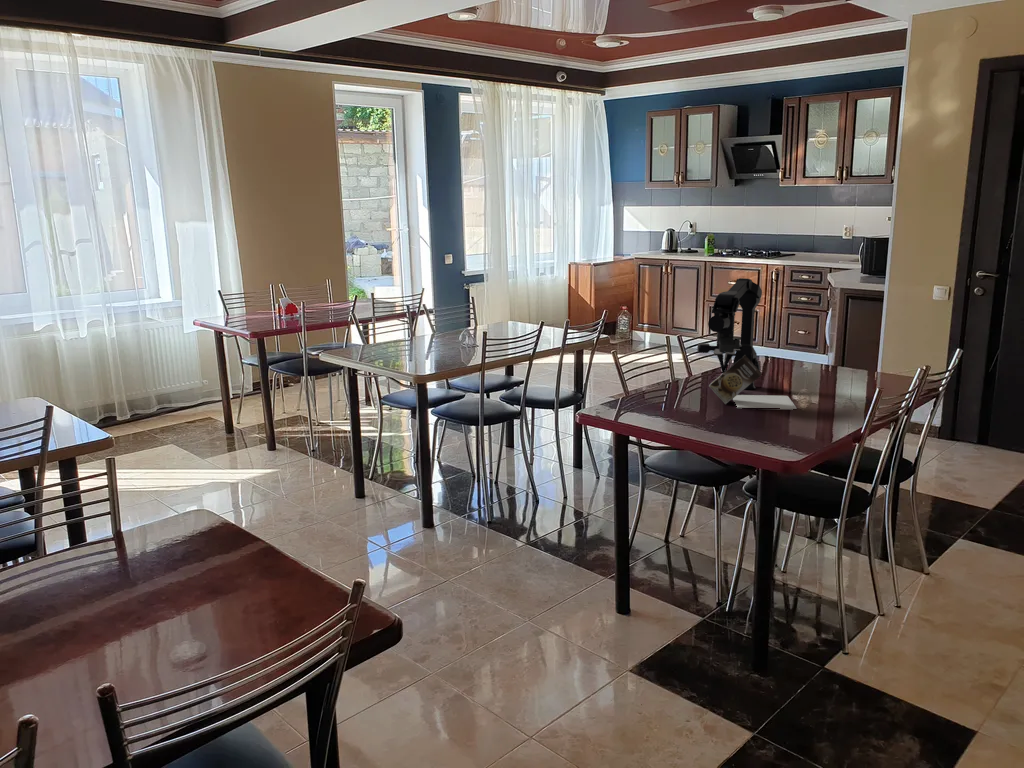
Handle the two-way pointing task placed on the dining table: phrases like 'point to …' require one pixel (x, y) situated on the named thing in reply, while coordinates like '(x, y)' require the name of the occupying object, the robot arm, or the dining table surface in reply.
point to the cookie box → (735, 379)
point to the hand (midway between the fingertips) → (723, 372)
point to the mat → (763, 401)
